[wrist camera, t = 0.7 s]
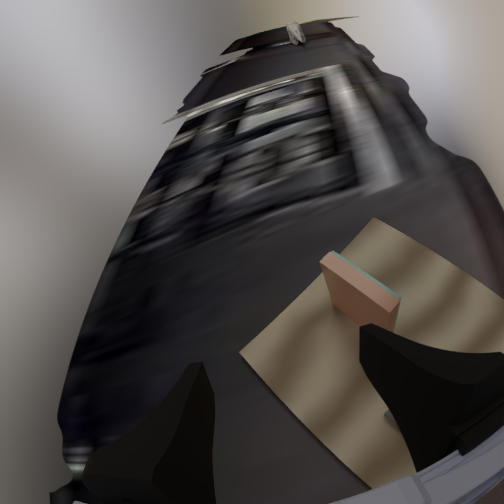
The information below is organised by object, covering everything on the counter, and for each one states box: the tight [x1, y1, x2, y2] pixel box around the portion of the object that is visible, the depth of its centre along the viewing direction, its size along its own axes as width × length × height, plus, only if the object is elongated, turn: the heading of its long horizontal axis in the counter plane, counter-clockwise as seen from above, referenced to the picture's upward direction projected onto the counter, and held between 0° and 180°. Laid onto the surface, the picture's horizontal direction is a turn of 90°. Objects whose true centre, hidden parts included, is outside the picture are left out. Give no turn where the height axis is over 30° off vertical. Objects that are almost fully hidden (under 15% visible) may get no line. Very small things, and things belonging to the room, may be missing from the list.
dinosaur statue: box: [287, 21, 306, 45], centre depth 94 cm, size 7×24×11 cm, turn 179°
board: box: [239, 217, 504, 489], centre depth 23 cm, size 24×22×1 cm
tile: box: [320, 251, 401, 332], centre depth 23 cm, size 7×2×8 cm, turn 38°
